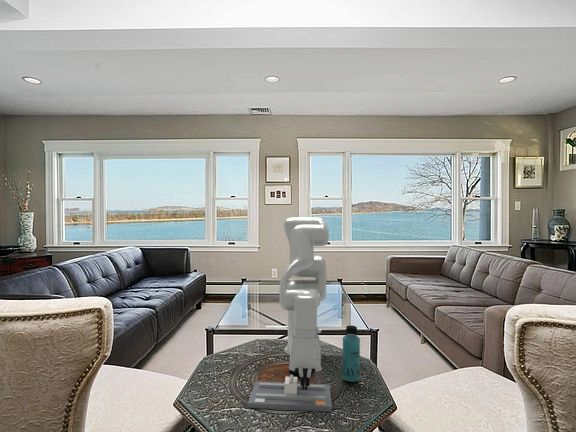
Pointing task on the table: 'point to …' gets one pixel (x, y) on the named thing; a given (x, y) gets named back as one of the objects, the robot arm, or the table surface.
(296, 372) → the end cap
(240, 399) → the table surface
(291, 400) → the breaker panel
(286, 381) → the knob
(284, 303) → the robot arm
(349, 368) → the beverage bottle
